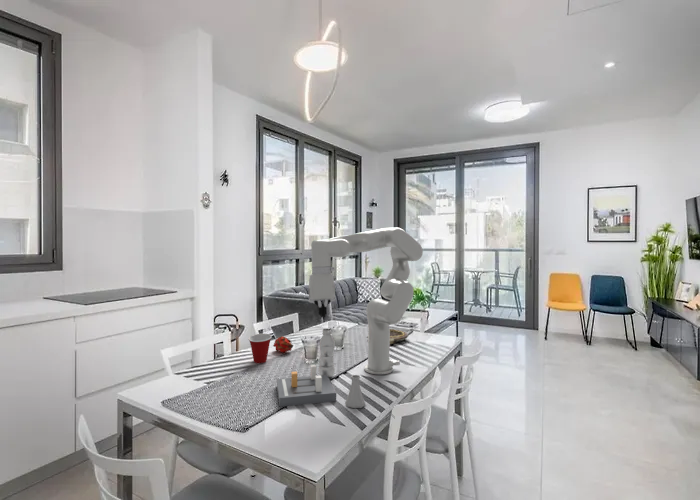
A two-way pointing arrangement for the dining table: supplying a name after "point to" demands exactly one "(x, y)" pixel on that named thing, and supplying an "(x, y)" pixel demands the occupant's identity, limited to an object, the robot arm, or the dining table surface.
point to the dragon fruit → (283, 344)
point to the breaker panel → (306, 390)
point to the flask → (355, 394)
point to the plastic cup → (260, 347)
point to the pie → (397, 336)
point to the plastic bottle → (326, 353)
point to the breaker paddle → (294, 379)
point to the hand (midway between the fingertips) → (322, 316)
